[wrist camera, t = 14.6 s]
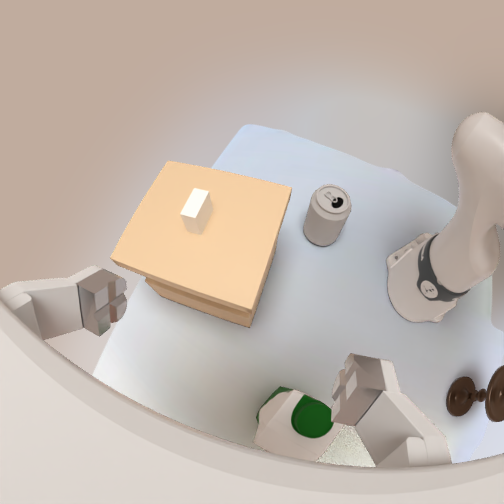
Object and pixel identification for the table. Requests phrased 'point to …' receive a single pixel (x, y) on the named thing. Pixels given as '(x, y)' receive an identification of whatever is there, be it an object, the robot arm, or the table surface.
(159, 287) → the carton
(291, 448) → the milk carton
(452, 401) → the candlestick
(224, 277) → the carton lid
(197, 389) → the table surface
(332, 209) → the can
